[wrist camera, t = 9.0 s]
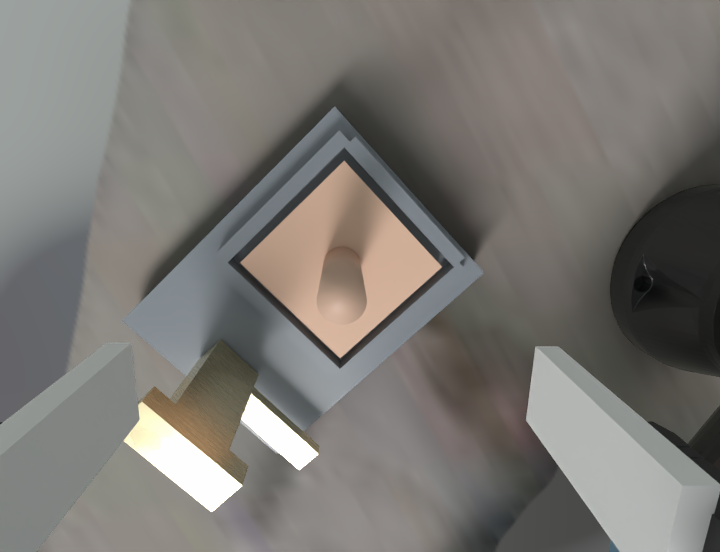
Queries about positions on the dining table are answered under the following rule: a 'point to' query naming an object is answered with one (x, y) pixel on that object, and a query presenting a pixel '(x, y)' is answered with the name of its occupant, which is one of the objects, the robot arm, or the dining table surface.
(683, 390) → the dining table surface
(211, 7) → the dining table surface
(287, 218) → the cover
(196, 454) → the key
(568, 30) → the dining table surface
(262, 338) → the housing
